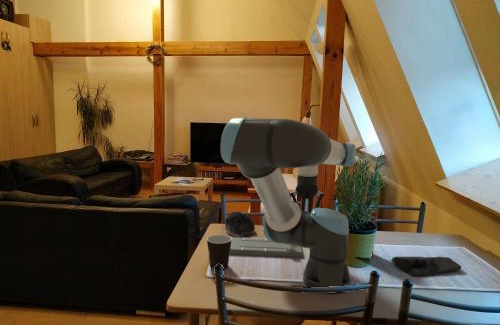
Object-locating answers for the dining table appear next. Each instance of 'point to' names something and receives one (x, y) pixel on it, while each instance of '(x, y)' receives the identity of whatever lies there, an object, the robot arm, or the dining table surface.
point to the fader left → (288, 247)
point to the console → (262, 247)
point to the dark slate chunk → (425, 265)
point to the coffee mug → (219, 250)
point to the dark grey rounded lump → (239, 224)
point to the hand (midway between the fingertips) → (305, 234)
